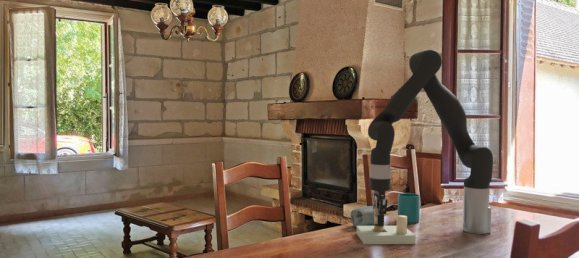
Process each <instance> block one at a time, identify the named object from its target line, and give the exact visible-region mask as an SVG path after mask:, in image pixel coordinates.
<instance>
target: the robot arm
mask: <svg viewBox="0 0 579 258" xmlns="http://www.w3.org/2000/svg"><path fill="white" fill-rule="evenodd" d="M442 58H443V57H442V55H441V53H440V52H438V51H437V50H435V49H426V50H422V51H419V52H415V53H414V54H412V55H411V57H410V58H409V61H408V62H409V63H408V65H409V69H410V71H411V76H410V77H409V78H408V79H407V81H406V82H405V83H404V84H402V85H401V86H400V87H399V88H398V89H397V91H395V93H394V94H393V95H392V96H391V98H390V99H389V101H388V102H387V104H386V105H385V107H384V109H383V110H382V111H380V113H378V114H377V116H376V117H374V119H372V121H371V122H370V124H369V126H368V128H367V135H368V137H369V138H370V139H371V140H372V141H373V140H374V141H376V143H375V147H374V148H372V149H371V150H370V166H369V183H368V184H369V187H368V188H369V189H370V190H371V191H374V193H372V206H373V209H374V207H376V208H377V214H378V219H377V224H378V225H379V226H383V225H384V226H385V215H387V210H388V203H389V200H388V199H387V195H386V191H387V192H389V191H391V189H392V188H391V184H392V183H391V181H392V180H391V178H392V176H391V175H392V169H391V151H392V149H393V145H394V141H395V128H394V125H393V124H394V123H398V122H400V120H401V119H402V118H403V116H404V115H405V113H406V112H407V111H408V108H409V107H410V106H411V104H412V103H413V101H414V100H415V98H416V97H417V96H418V95H419V93H420V92H421V91H422V90H424V93H425V94H426V96H427V97H428V99H429V101H430V103H431V105H432V106H433V109H434V110H435V113H436V114H437V117H438V118H439V119H440V122H441V123H442V125H443V127H444V129H445V131H446V132H447V134H448V136H449V137H450V139H451V141H452V143H453V145H454V147H455V148H454V149H455V150H456V153H457V155H458V158H459V160H460V162H461V164H462V165H463V166H464V167H466V168H467V169H470V175H468V177H466V178H464V180H463V202H462V203H463V207H462V209H463V210H462V212H463V214H462V231H463V232H465V233H470V234H474V235H476V234H477V235H482V234H483V235H484V234H491V232H492V208H491V207H490V186H491V185H490V183H491V182H492V179H493V170H494V169H493V167H494V156H493V153H492V150H491V149H490V148H488V147H487V146H484V145H483V146H482V145H476V144H475V142H474V141H473V139H472V138H471V136H470V134H469V132H468V127H467V126H468V125H467V124H468V123H467V121H468V120H467V115H466V112H465V109H464V107H463V106H462V104H461V102H460V100H459V98H457V96H456V95H455V94H454V93H453V92H452V91H451V90H449V89H448V88H447V87H446V86H445V85H444V84H442V82H441V80H439V78H438V76H437V73H438V72H439V70H441V67H442V64H443V59H442ZM381 209H383V211H381Z"/></svg>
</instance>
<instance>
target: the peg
mask: <svg viewBox="0 0 579 258" xmlns="http://www.w3.org/2000/svg"><path fill="white" fill-rule="evenodd" d="M381 211H383V209H381ZM377 219H378V214H377V208H376V207H374V232H384V226H385V224H384V225H383V226H379V225H378V224H377Z"/></svg>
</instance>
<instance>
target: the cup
mask: <svg viewBox="0 0 579 258" xmlns="http://www.w3.org/2000/svg"><path fill="white" fill-rule="evenodd" d="M420 211H421V195H420V194H418V193H413V192H412V193H410V192H403V193H402V192H401V193H398V194H397V216H398V215H403V216H407V224H417V223H419V222H420V220H421V219H420V216H421V215H420V213H421V212H420Z"/></svg>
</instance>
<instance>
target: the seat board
mask: <svg viewBox="0 0 579 258" xmlns="http://www.w3.org/2000/svg"><path fill="white" fill-rule="evenodd" d="M356 235H357V237H358V238H359V239H360V240H361V242H362V243H363V245H416V235H415V233H413V232H412V231H411V230H410V229H408V223H407V216H403V215H398V214H397V215H396V225H384V232H374V226H357V228H356Z"/></svg>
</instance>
